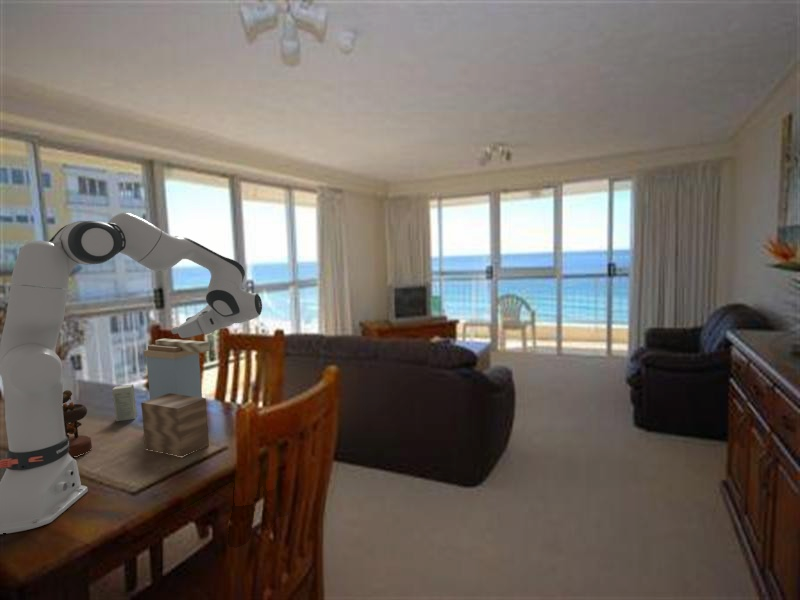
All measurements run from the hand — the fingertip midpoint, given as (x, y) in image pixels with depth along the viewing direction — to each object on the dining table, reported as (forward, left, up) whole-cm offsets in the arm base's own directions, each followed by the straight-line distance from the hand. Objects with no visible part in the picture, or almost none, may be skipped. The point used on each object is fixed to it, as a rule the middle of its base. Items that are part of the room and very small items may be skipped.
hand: (180, 325), depth 157 cm
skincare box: (+18, +24, -36) cm, 47 cm away
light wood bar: (+2, 0, -9) cm, 9 cm away
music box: (-10, +31, -36) cm, 49 cm away
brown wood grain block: (-17, 0, -36) cm, 40 cm away
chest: (+6, +4, -36) cm, 36 cm away
